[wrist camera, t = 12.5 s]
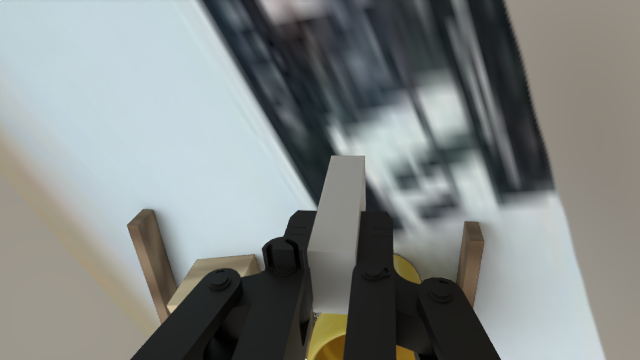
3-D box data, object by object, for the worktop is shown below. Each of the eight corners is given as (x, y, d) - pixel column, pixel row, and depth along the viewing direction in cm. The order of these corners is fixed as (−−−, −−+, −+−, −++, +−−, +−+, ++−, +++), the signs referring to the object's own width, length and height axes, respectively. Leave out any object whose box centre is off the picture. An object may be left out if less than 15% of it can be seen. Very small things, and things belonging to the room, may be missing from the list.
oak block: (197, 258, 38) (166, 305, 33) (254, 253, 37) (231, 301, 31) (218, 304, 41) (193, 354, 36) (272, 301, 39) (254, 353, 34)
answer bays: (142, 209, 36) (123, 227, 34) (477, 222, 31) (485, 244, 29) (179, 325, 43) (166, 348, 41) (457, 350, 38) (462, 377, 36)
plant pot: (425, 331, 38) (435, 437, 29) (319, 309, 39) (299, 406, 30) (456, 246, 33) (479, 345, 24) (332, 223, 34) (313, 311, 25)
